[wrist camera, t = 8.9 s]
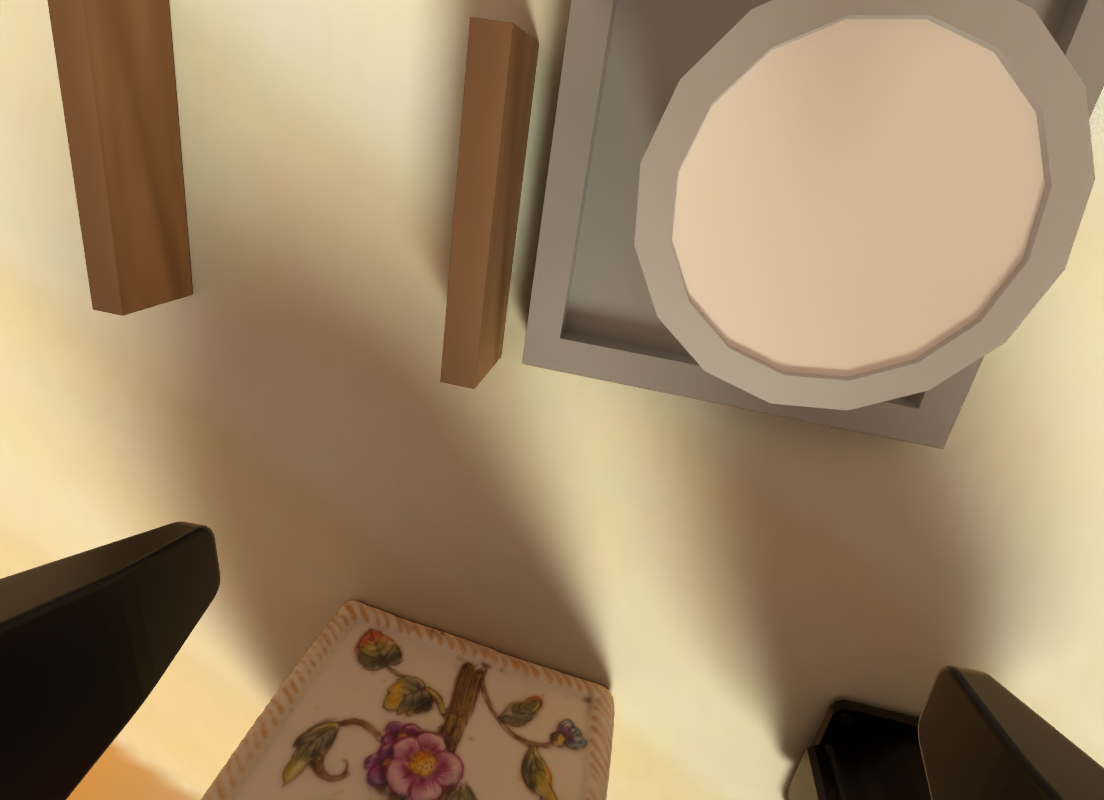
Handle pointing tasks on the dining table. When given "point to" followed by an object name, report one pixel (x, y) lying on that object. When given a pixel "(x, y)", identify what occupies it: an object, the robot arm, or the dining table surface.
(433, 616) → the dining table surface
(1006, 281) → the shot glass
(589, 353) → the tray
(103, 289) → the wooden pieces
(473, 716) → the decorative jar
